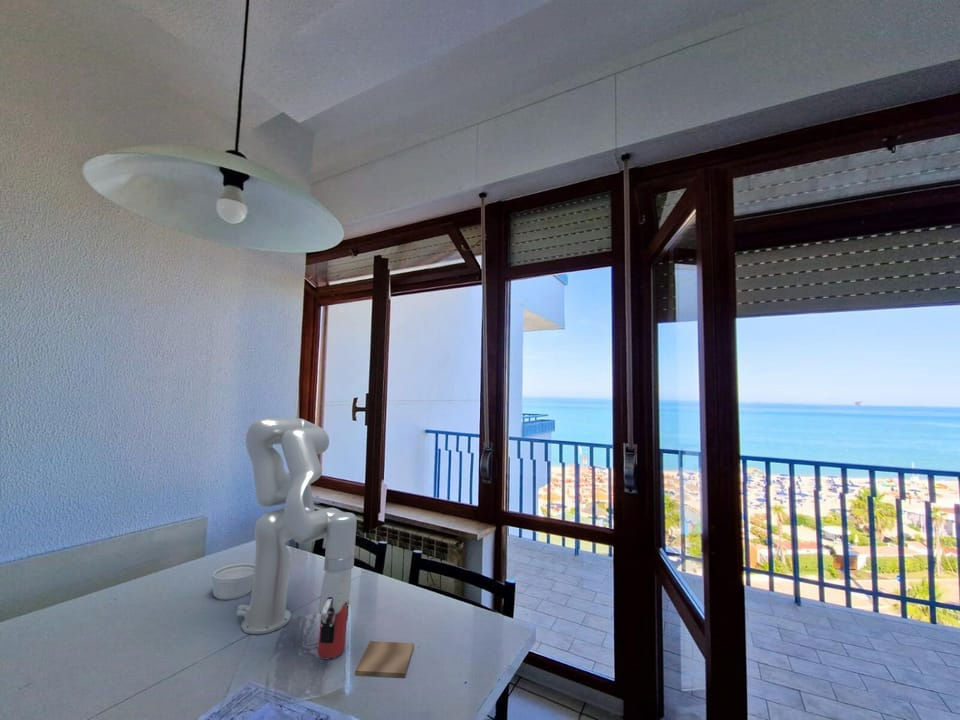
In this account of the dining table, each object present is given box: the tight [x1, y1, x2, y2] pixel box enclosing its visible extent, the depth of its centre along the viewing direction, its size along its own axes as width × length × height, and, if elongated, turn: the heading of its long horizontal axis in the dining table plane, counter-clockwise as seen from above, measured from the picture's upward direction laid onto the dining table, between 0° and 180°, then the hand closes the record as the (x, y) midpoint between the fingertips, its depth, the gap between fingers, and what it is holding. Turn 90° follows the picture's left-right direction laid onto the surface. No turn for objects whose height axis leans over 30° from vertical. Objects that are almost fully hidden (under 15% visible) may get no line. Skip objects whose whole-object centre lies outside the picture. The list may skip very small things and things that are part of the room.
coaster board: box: [354, 640, 415, 679], centre depth 97 cm, size 12×12×1 cm
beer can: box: [317, 602, 349, 659], centre depth 100 cm, size 7×7×12 cm
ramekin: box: [212, 562, 255, 601], centre depth 129 cm, size 13×13×7 cm
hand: (334, 631), depth 100 cm, fingers open, 9 cm apart
